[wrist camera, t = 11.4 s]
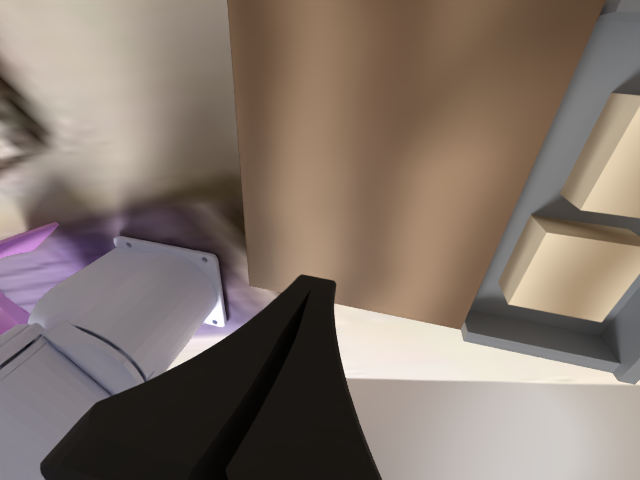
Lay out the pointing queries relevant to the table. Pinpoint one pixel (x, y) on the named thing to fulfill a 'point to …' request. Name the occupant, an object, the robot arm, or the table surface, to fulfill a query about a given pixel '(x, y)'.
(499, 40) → the walnut board
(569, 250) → the tile
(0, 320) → the toy chair
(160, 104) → the table surface
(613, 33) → the slate bin
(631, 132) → the tile
